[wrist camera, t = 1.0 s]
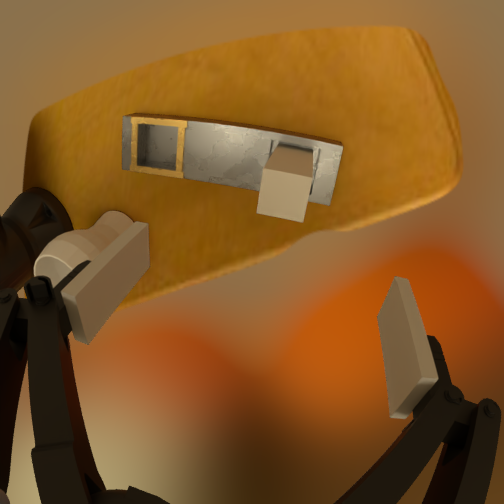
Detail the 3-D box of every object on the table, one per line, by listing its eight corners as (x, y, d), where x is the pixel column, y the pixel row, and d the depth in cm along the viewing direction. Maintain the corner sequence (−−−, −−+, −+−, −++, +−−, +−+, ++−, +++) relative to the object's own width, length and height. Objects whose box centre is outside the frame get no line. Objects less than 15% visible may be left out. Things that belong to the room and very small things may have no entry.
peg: (273, 174, 38) (256, 213, 27) (279, 142, 36) (263, 168, 25) (306, 181, 37) (303, 222, 27) (313, 149, 35) (312, 177, 25)
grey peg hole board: (133, 163, 41) (121, 169, 38) (135, 113, 37) (122, 116, 34) (328, 196, 38) (329, 206, 36) (341, 141, 35) (343, 146, 32)
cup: (87, 199, 45) (21, 245, 32) (144, 203, 43) (82, 256, 31) (98, 258, 50) (44, 312, 37) (152, 267, 49) (103, 331, 36)
